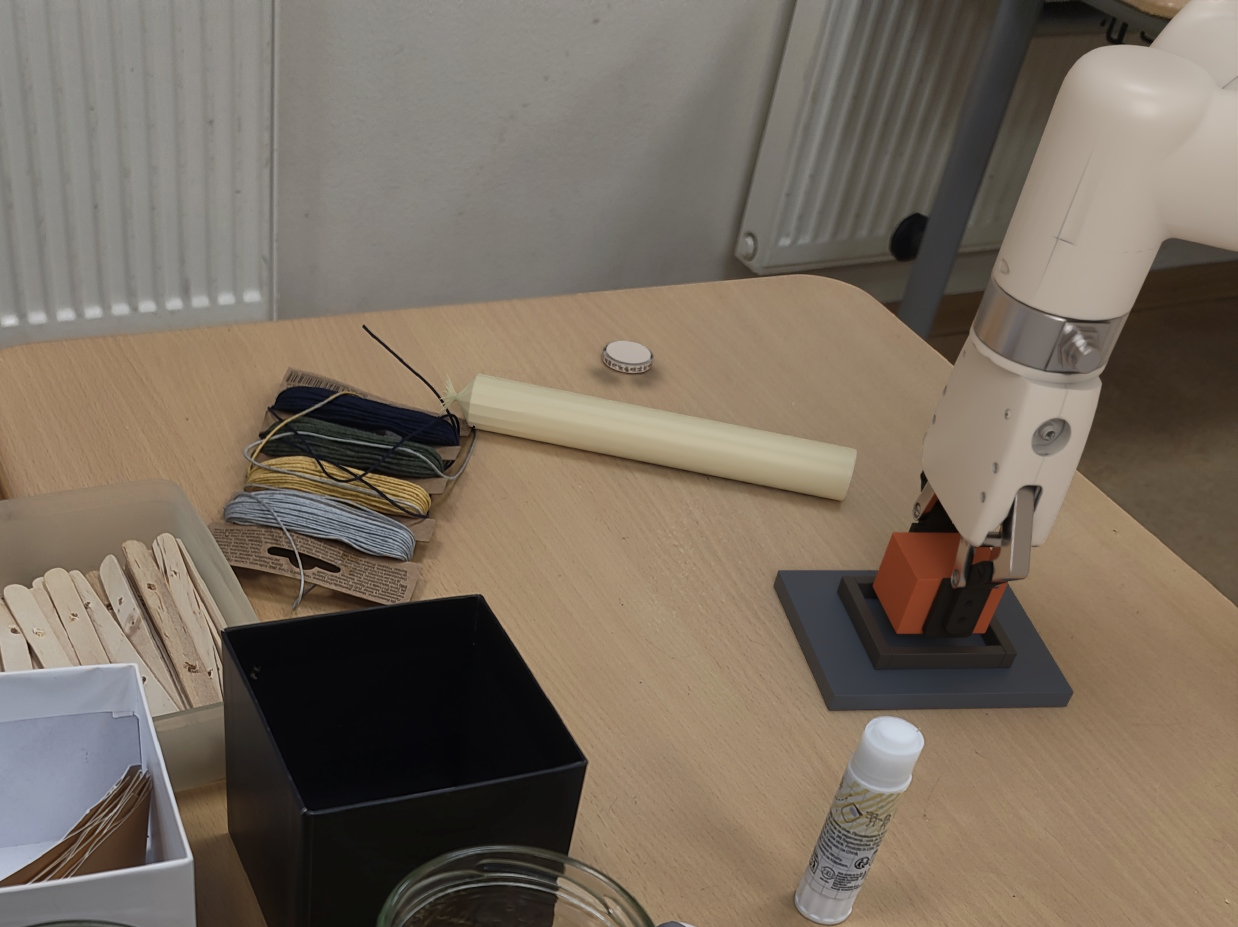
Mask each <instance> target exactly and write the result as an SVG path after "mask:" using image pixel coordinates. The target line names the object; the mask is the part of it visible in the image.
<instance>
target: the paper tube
mask: <svg viewBox="0 0 1238 927" xmlns="http://www.w3.org/2000/svg"><path fill="white" fill-rule="evenodd" d="M445 375H446V377H444V378H445V381H446V384H447V385H446V384H445V383H444V382H442V384H443V385H444V387H445V389H446V390H439V392H440V391H441V392H443V393H444V394H445V395H447V396H442V397H441V398H440V400H444V402H442V403H441V404H440V405H439V406H438V408H440V407H441V406H442V407H441V409H440V410H439V411H438V413H440V414H439V415H441V414H444V412H445V411H446V410H448V408H449V407H450V406H451V405H452V404H453V403H454V402H455V401H456V402H457V404H458V405H459V408H460V410H461V412H462V415H463V417H464V419H465V422H466V424H467V423H471V424H473V425H474V426H475V427H476V428H474V429H476V430H479V431H486V432H490V433H491V432H492V433H496V434H501V435H505V436H512V437H517V438H522V439H527V440H531V441H537V442H542V443H546V444H553V445H557V446H562V447H566V448H571V449H576V450H581V451H582V450H583V451H587V452H591V453H592V452H593V453H598V454H602V455H608V456H612V457H616V458H617V457H618V458H623V459H628V460H633V461H638V462H643V463H648V464H653V465H658V466H663V467H667V468H674V469H679V470H684V471H689V472H694V473H699V474H704V475H708V476H713V477H719V478H723V479H729V480H733V481H739V482H743V483H748V484H753V485H758V486H763V487H764V486H765V487H768V488H773V489H780V490H785V491H790V492H793V493H794V492H795V493H799V494H804V495H809V496H815V497H820V498H824V499H828V500H829V499H830V500H833V501H838V502H839V501H840V502H843V501H844V500H845V498H846V496H847V494H848V490H849V487H850V484H851V481H852V478H853V474H854V470H855V466H856V465H855V464H856V461H857V456H858V455H857V454H858V450H857V449H856V448H853V447H850V446H849V447H848V446H843V445H840V444H839V445H838V444H834V443H830V442H824V441H819V440H814V439H808V438H803V437H799V436H794V435H788V434H784V433H779V432H774V431H768V430H763V429H758V428H754V427H750V426H744V425H739V424H733V423H728V422H724V421H719V420H713V419H710V418H703V417H699V416H694V415H688V414H684V413H679V412H674V411H668V410H664V409H659V408H654V407H649V406H643V405H640V404H639V405H638V404H634V403H630V402H624V401H618V400H614V399H609V398H604V397H599V396H594V395H590V394H584V393H580V392H574V391H569V390H564V389H559V388H555V387H549V386H545V385H540V384H534V383H530V382H524V381H521V380H514V379H510V378H505V377H499V376H496V375H491V374H486V373H482V372H478V373H477V374H476V375H474V377H473V378H472V379H471V380H470V381H469V382H468V383H467V384H466V385H465V386H464V387H463V388H462V389H461V391H459V392H458V393H457V392H456V390H455V388H454V385H453V383H452V381H451V378H450V376H449V374H448V372H446V373H445ZM441 416H442V415H441Z"/></svg>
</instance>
